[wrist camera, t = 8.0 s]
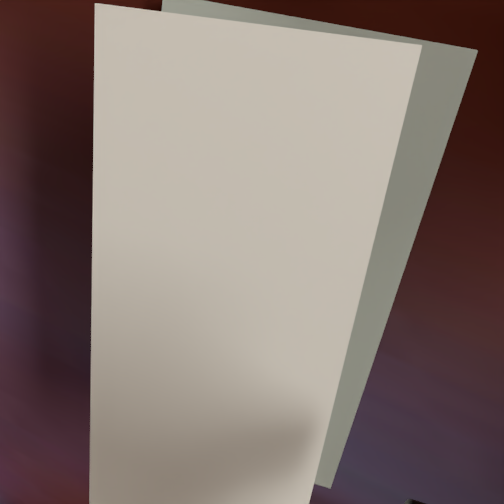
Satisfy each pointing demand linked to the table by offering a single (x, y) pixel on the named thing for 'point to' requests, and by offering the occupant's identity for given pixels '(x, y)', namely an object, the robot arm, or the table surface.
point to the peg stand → (396, 199)
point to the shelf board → (229, 247)
